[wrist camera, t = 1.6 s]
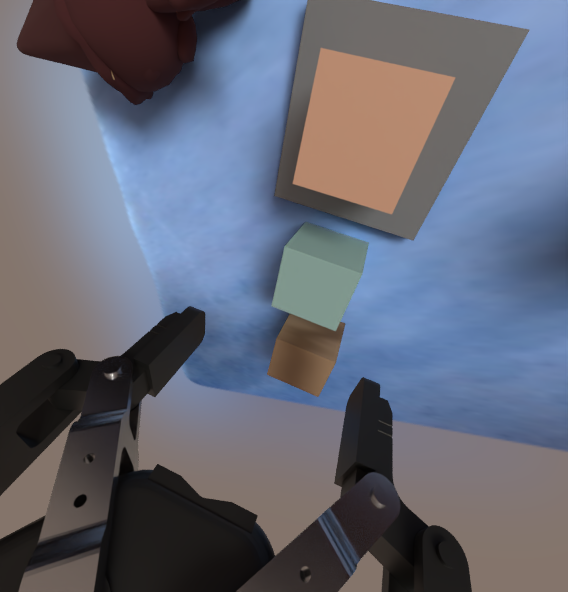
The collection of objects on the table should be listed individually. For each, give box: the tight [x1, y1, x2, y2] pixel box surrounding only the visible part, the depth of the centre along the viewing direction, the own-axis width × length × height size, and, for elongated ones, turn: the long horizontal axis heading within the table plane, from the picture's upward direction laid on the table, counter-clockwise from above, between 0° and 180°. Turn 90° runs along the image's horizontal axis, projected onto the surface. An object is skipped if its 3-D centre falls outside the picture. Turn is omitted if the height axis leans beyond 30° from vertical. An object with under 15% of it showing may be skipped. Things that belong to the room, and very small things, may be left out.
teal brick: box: [272, 222, 369, 331], centre depth 19 cm, size 5×5×5 cm
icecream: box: [17, 0, 239, 105], centre depth 14 cm, size 7×7×15 cm
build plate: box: [274, 0, 529, 240], centre depth 15 cm, size 10×10×1 cm
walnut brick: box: [267, 314, 345, 397], centre depth 24 cm, size 5×5×5 cm
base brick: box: [293, 48, 456, 214], centre depth 13 cm, size 5×5×5 cm
